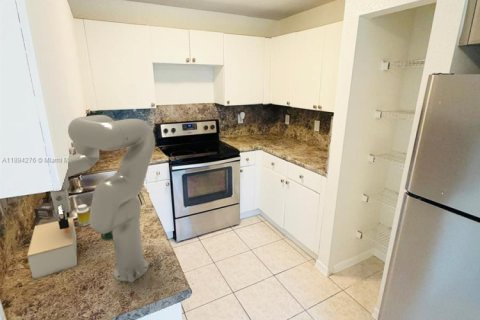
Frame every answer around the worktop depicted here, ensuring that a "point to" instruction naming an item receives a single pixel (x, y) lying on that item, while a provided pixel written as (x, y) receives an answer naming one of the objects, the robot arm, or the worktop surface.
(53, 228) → the lid flap
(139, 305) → the worktop surface
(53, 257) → the carton
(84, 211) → the supplement bottle
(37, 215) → the coffee box
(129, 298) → the worktop surface
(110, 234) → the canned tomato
